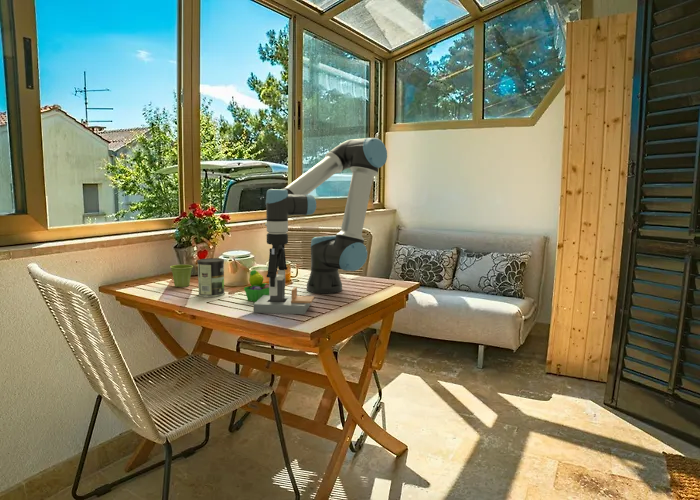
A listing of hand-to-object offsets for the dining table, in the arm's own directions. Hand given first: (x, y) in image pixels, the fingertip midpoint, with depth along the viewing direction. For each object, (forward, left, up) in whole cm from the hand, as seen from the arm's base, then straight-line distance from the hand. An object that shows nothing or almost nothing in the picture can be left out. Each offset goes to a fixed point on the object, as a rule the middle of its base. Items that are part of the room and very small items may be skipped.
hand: (277, 291), depth 180 cm
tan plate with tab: (0, +9, -3) cm, 10 cm away
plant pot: (-32, -49, -7) cm, 59 cm away
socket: (0, +2, -6) cm, 7 cm away
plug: (0, 0, -6) cm, 6 cm away
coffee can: (-18, -31, -6) cm, 36 cm away
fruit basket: (-13, -10, -7) cm, 18 cm away
